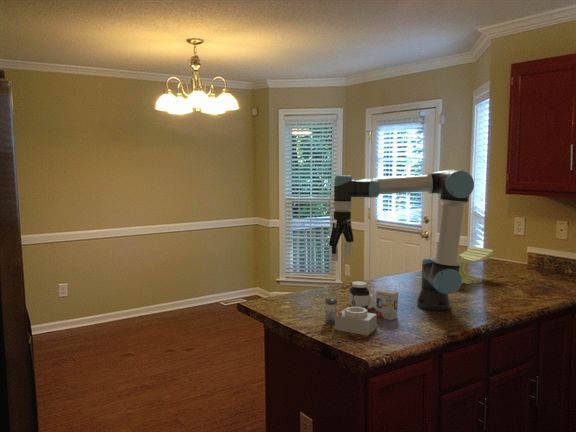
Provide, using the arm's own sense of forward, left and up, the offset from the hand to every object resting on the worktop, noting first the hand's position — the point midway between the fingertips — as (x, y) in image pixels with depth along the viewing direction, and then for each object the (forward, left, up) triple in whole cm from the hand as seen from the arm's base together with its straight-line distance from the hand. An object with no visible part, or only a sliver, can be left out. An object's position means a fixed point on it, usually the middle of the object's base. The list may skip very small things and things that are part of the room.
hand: (341, 258), depth 216 cm
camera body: (-13, +15, -25) cm, 32 cm away
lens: (-1, +13, -25) cm, 28 cm away
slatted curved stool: (-36, -96, -26) cm, 106 cm away
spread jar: (-5, -15, -26) cm, 30 cm away
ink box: (-19, -6, -26) cm, 32 cm away
